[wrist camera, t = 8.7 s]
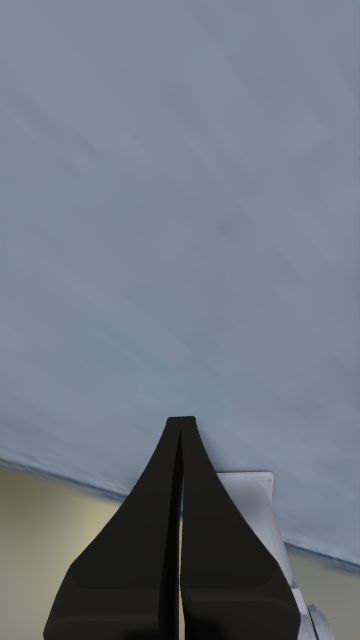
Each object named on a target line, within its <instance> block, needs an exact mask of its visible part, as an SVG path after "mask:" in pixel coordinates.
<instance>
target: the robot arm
mask: <svg viewBox="0 0 360 640" xmlns="http://www.w3.org/2000/svg"><path fill="white" fill-rule="evenodd" d="M183 475H184V495H183V525H182V548H181V569H180V589H181V598H182V605H183V614H184V621H185V640H335V638H334V636H333V633H332V631H331V628H330V626H329V623H328V621H327V619H326V617H325V616H324V615H323V614H322V613H321V612H320V611H319V610H317V608H316V606H315V605H313V604H312V605H308V606H307V607H308V611H309V614H310V617H311V621H312V624H313V627H312V624H311V621H310V619H309V616H308V613H307V610H306V606H305V603H304V600H303V597H302V594H301V591H300V589H299V588H298V587H297V584H296V580H295V577H294V574H293V571H292V568H291V565H290V561H289V558H288V555H287V552H286V549H285V546H284V543H283V540H282V536H281V533H280V530H279V527H278V524H277V521H276V518H275V514H274V511H273V508H272V505H271V503H272V492H273V481H274V476H273V473H272V472H235V473H216V472H215V470H214V468H213V466H212V464H211V462H210V460H209V457H208V455H207V453H206V450H205V448H204V446H203V443H202V441H201V438H200V435H199V432H198V429H197V425H196V418H195V417H194V416H183V417H169V418H168V419H167V422H166V425H165V428H164V431H163V433H162V436H161V438H160V440H159V443H158V445H157V447H156V449H155V451H154V453H153V455H152V457H151V459H150V461H149V463H148V464H147V466H146V468H145V470H144V472H143V473H142V475H141V477H140V478H139V480H138V482H137V483H136V485H135V486H134V488H133V489H132V491H131V492H130V494H129V495H128V497H127V498H126V499H125V501H124V502H123V504H122V505H121V506H120V508H119V509H118V510H117V512H116V513H115V514H114V516H113V517H112V518H111V519H110V521H109V522H108V523H107V524H106V525H105V527H104V528H103V529H102V530H101V532H100V533H99V534H98V535H97V536H96V538H95V539H94V540H93V541H92V542H91V543H90V544H89V545H88V546H87V548H86V549H85V550H84V551H83V552H82V553H81V554H80V555H79V556H78V557H77V558H76V560H75V561H74V562H73V563H72V564H71V565H70V568H69V569H68V571H67V573H66V575H65V577H64V579H63V581H62V584H61V586H60V588H59V590H58V593H57V595H56V597H55V600H54V603H53V606H52V609H51V611H50V614H49V617H48V620H47V623H46V626H45V628H44V632H43V637H44V640H179V527H180V512H181V500H182V488H183ZM313 629H314V630H313Z"/></svg>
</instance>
